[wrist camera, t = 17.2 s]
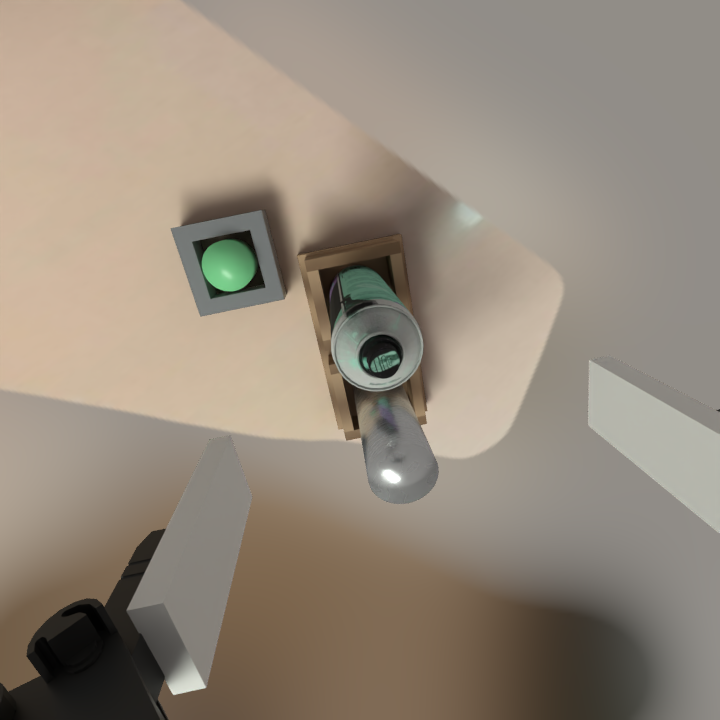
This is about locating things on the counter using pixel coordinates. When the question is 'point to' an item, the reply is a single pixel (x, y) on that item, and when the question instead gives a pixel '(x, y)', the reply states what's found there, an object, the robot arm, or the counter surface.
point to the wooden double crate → (317, 281)
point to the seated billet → (394, 446)
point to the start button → (229, 264)
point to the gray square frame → (265, 250)
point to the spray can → (372, 331)
